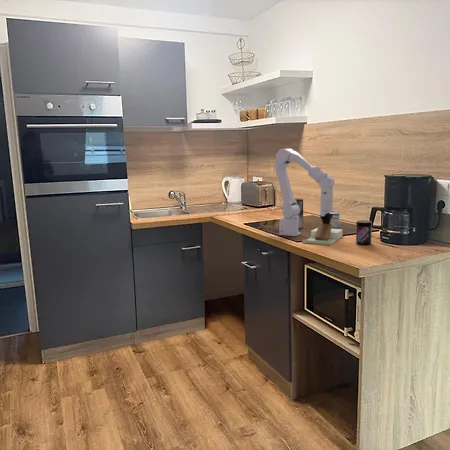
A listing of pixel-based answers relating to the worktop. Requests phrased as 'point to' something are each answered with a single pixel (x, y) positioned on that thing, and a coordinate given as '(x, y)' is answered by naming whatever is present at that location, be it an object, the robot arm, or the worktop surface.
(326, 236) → the tile
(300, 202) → the coffee box
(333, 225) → the medicine box
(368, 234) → the supplement container
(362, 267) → the worktop surface
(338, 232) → the white box
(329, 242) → the mat
